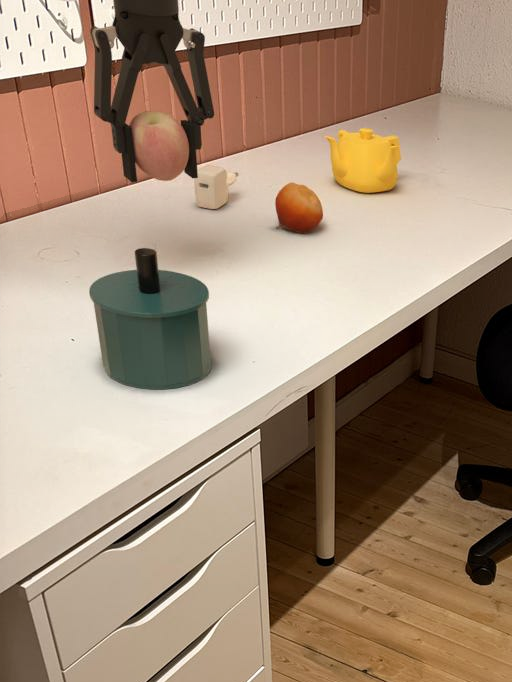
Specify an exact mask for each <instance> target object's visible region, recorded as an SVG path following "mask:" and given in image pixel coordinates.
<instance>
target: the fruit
mask: <svg viewBox="0 0 512 682" xmlns="http://www.w3.org/2000/svg"><path fill="white" fill-rule="evenodd" d="M274 201H275V202H274V203H275V211H276V216H277V220H278V225H277V226H276V228H275V229H276V230H277V229H279V228H281V227H284V228H286V229H288V230H289V231H292V232H296V233H300V234H307V233H310V232H312V231H313V230H314V229H315V228H316V227H318V226H319V225H320V223H321V221H322V220H323V218H324V210H323V205H322V203H321V200H320V198H319V197H318V195H317V194H316V193H315V192H314V190H313V189H310V188H309V187H308V186H306V185H304V184H299V183H295V182H289V183H287V184H285V185H284V186H283V187H282V188H281V189H280V190H279V191H278V193H277V195H276V197H275V200H274Z"/></svg>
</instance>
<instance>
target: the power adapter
mask: <svg viewBox="0 0 512 682" xmlns="http://www.w3.org/2000/svg"><path fill="white" fill-rule="evenodd" d="M197 173H198V178H193V183H194V195H195V204H196V205H197V206H198V207H200V208H204V209H209V210H217V209H220V208H221V207H222V206H223V205H225V204H227V203H228V200H229V187H231V186H233V185H234V184H235V183H236V182H237V180H238V179H237V177H239V173H238V172H237V171H234V172H230V171H227V170H226V168H225V167H222V166H218V165H213V164H212V165H211V164H206V165H204V166H202V167H200V168H199V169H197Z"/></svg>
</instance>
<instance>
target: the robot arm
mask: <svg viewBox="0 0 512 682" xmlns="http://www.w3.org/2000/svg"><path fill="white" fill-rule="evenodd" d="M112 2H113V7H114V18H113V21H112V25H110V26H104V27H98V26H91V27H90V31H89V34H90V37H91V40H92V43H93V47H94V81H93V83H94V85H93V86H94V87H93V113H94V115H95V116H96V117H98V119H100V120H101V121H103V122H105V123H109V124H110V128H111V136H112V147H113V149H114V150H115V151H116V152H117V153H118V154H120V155H121V162H122V173H123V177H124V178H125V179H126V180H128V181H129V182H131V183H137V182H138V176H137V174H138V173H137V164H136V163H135V155H134V145H133V135H132V128H131V127H130V126H129V124H127V123H126V122H127V118H128V114H129V111H130V107H131V103H132V99H133V96H134V91H135V88H136V84H137V81H138V76H139V73H141V71H142V69H143V65H149V64H153V63H156V64H160V65H162V66H163V67H164V69H165V71H166V74H167V76H168V79H169V81H170V83H171V85H172V87H173V89H174V92H175V95H176V97H177V99H178V101H179V104H180V106H181V108H182V110H183V113H184V115H185V117H186V119H180V124H181V126H182V127H183V129H184V131H185V133H186V135H187V139H188V143H189V157H188V162H187V165H186V167H185V169H184V171H183V173H184V174H186V175H187V176H188V177H190V178H191V179H194V178H198V173H197V170H198V161H197V160H198V158H197V150H198V151H199V150H202V147H203V142H202V141H203V140H202V126H204V124H205V120H207V119H209V120H210V119H213V118H214V116H215V110H214V103H213V99H212V98H213V97H212V94H211V93H212V92H211V88H210V83H209V77H208V72H207V71H208V70H207V66H206V61H205V56H204V52H205V42H206V36H205V34H204V33H203V32H201V31H199V30H197V29H195V28H193V27H192V28H189V29H188V28H185V27H183V25H182V24H181V21H180V17H179V13H180V10H179V9H180V7H179V0H112ZM116 38H117V39H118V41H119V42H120V44H121V45H122V46H123V52H122V55H121V66H120V70H119V74H118V78H117V82H116V86H115V89H114V93H113V97H112V79H113V78H112V71H113V69H112V68H113V54H112V49H113V48H114V46H115V40H116ZM181 41H182V42H183V45H184V47H185V48H186V53H187V59H188V60H187V61H188V64H189V70H190V74H191V78H192V85H193V91H194V95H195V99H194V97H193V94H192V91H191V89H190V87H189V84H188V82H187V80H186V77H185V75H184V73H183V69H182V65H181V62H180V60H179V58H178V55H177V53H176V50H177V48H178V46H179V45H180V43H181ZM195 100H196V102H195Z"/></svg>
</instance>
